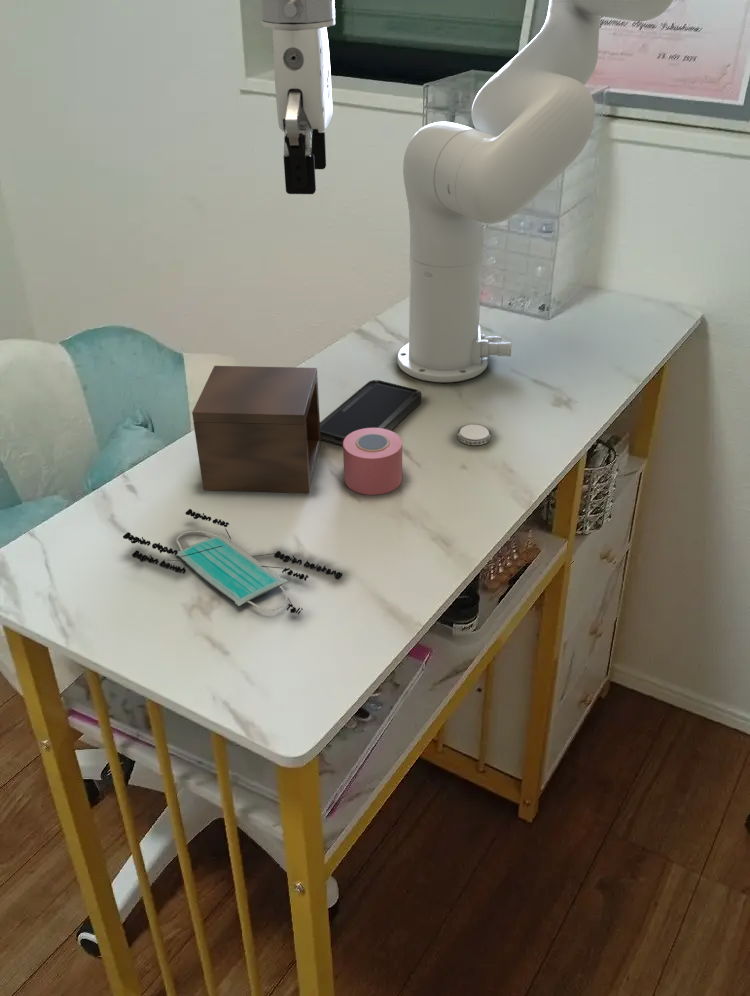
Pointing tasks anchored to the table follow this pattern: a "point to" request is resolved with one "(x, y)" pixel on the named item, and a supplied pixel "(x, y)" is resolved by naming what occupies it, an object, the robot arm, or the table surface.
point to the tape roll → (372, 461)
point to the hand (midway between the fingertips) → (306, 180)
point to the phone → (370, 410)
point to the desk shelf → (258, 429)
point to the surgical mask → (228, 566)
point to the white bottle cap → (474, 434)
